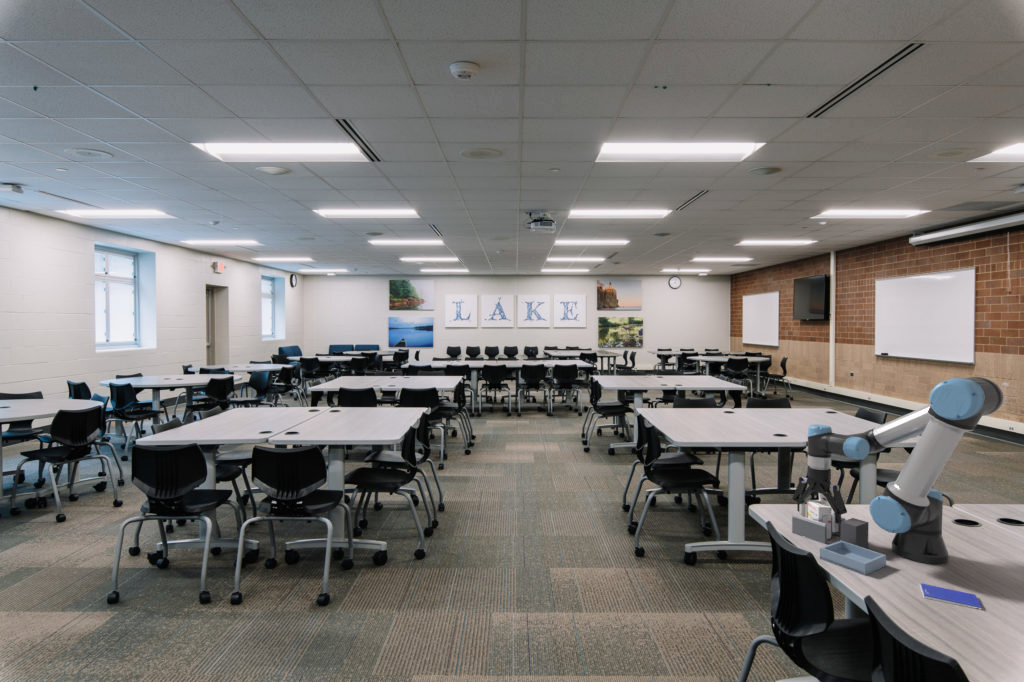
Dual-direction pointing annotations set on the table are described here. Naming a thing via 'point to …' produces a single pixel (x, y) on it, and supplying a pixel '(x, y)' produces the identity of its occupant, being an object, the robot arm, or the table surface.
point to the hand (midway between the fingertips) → (818, 526)
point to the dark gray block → (855, 532)
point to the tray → (853, 557)
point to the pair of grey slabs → (812, 528)
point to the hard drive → (949, 596)
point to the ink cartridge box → (820, 512)
